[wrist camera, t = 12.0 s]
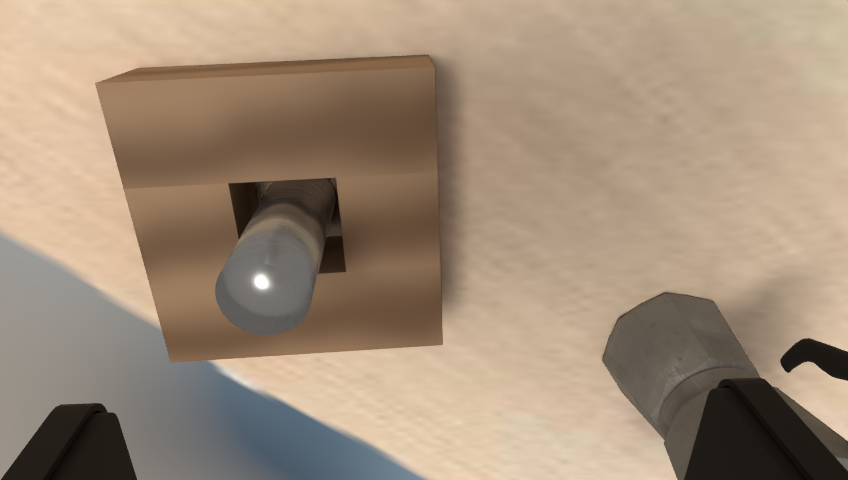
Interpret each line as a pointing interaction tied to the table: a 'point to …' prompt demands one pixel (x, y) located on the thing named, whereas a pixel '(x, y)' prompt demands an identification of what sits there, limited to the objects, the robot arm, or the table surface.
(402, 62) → the socket block
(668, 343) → the coffeepot
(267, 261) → the peg
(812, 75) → the table surface
